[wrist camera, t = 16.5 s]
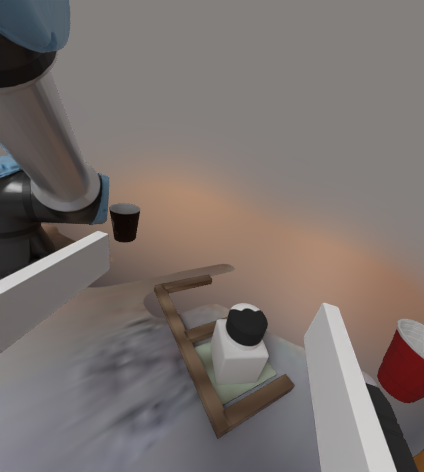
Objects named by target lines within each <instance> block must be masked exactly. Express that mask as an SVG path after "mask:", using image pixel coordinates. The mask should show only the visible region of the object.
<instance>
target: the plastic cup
mask: <svg viewBox="0 0 424 472" xmlns="http://www.w3.org/2000/svg"><path fill="white" fill-rule="evenodd" d="M377 377H378V380H379V382H380V384H381V385H382V387H383V388H384V389H385V390H386V391H387V392H388V393H389V394H390V395H391V396H393V397H394V398H396V399H397V400H399V401H401V402H404V403H411V402H415V401H417V400H419V399H421V398H423V397H424V325H423V324H421V323H419V322H416V321H414V320H409V319H401V320H398V323H397V330H396V333H395V334H394V337H393V340H392V342H391V344H390V346H389V348H388V350H387V352H386V354H385V356H384V358H383V362H382V364H381V366H380V368H379V371H378V375H377Z"/></svg>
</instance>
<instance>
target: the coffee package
mask: <svg viewBox="0 0 424 472" xmlns="http://www.w3.org/2000/svg"><path fill="white" fill-rule="evenodd" d="M413 459H414V462H415V464H416V466H417V469H418V471H419V472H424V450H423V451H421V452H420V453H419V454H418V455H416V456H414V457H413Z"/></svg>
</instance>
